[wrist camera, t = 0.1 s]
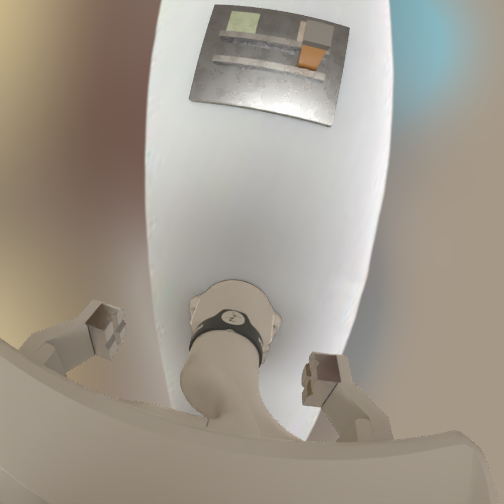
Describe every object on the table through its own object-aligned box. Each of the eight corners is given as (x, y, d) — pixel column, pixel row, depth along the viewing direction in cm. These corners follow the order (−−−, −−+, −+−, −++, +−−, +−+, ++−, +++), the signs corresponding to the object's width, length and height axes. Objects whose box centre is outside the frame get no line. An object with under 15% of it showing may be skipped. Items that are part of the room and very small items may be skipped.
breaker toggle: (315, 73, 38) (330, 46, 26) (295, 68, 38) (302, 39, 26) (319, 56, 36) (334, 26, 24) (299, 52, 36) (307, 19, 24)
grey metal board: (329, 127, 43) (334, 124, 39) (191, 101, 43) (185, 97, 39) (347, 31, 36) (352, 23, 32) (216, 9, 36) (212, -1, 32)
